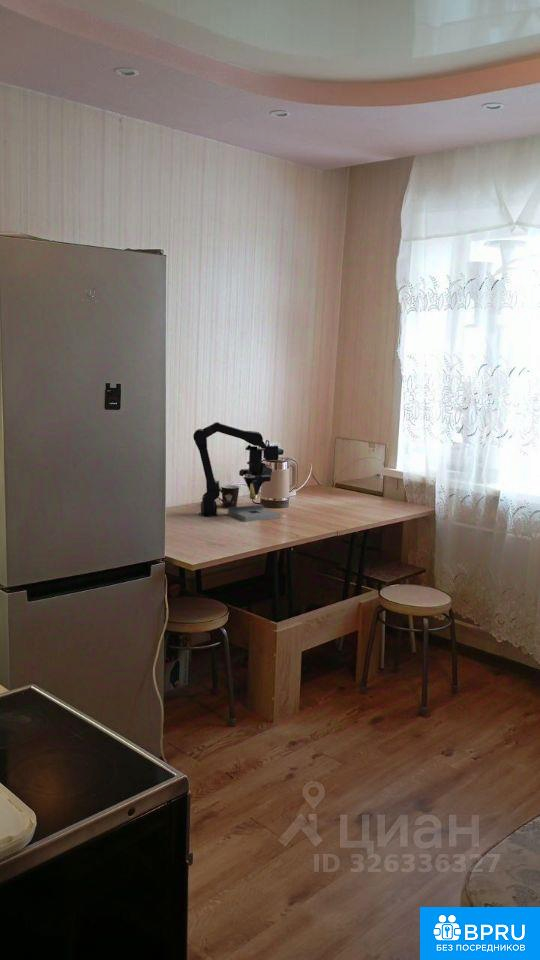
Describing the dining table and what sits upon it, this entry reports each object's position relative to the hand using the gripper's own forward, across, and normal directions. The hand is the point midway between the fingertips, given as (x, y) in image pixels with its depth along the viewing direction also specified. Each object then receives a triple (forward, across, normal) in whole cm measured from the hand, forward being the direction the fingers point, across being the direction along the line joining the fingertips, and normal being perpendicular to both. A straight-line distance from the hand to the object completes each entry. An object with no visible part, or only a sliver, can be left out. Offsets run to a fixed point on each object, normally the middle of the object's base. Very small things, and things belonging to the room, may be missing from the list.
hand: (254, 494), depth 355 cm
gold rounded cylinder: (+2, 0, 0) cm, 2 cm away
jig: (+10, 0, 0) cm, 10 cm away
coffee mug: (+11, +23, +1) cm, 25 cm away
